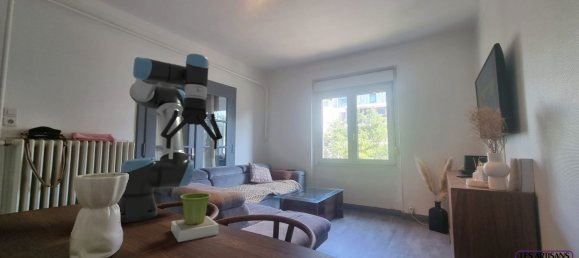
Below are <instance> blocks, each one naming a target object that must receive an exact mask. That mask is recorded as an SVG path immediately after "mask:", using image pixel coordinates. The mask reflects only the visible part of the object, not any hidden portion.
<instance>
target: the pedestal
mask: <svg viewBox="0 0 579 258" xmlns="http://www.w3.org/2000/svg"><path fill="white" fill-rule="evenodd" d="M219 227H220V226H219V223H218V222H216V221H215V220H214V219H213V218H211V217H210V216H208V215H205V219H204V222H202V223H200V224H196V223H195V224H193V225H189V224H185V222H184V218H183V219H177V220H172V221H171V227H170V228H171V229H170V230H171V233H172V234H173V236H174V237H175V239H176V241H177V243H180V242H185V241H186V242H187V241H190V240H197V239H200V238H201V239H202V238H205V237H211V236H215V235H219Z"/></svg>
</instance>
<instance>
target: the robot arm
mask: <svg viewBox="0 0 579 258" xmlns="http://www.w3.org/2000/svg"><path fill="white" fill-rule="evenodd" d="M209 69H210V66H209V58H208V57H206V56H205V55H203V54H199V53H188V54H187V55H186V61H185V66H184V65H180V64H179V65H178V64H175V63H170V62H166V61H160V60H155V59H151V58H148V57H140V56H137V57H135V58H134V60H133V70H132V75H133V78H134V79H135V81H134V83H133V84H131V86H130V88H129V96H130V97H131V99H132V100H133V101H134V102H135V103H136V104H138V105H139V106H142V107H144V108H148V109H153V110H155V109H156V110H157V113H158V115H160V116H161V129H162V130H161V133H160V136H161V137H162V148H163V149H162V151H163V152H162V153H163V154H162V155H161V156H160V157H159V160H157V158H156V157H155V156H151V157H141V158H139V157H138V158H132V159H128V160H125V161H123V162H122V164H121V169H120V172H119V174H120V173H128V174H129V180H128V183H127V187H126V190H125V192H124V194H123V196H122V198H121V200H120V201H119V202H118V201H117V202H118V205H119V207H120V212H121V224H122V223H124V224H125V223H136V222H143V221H147V220H150V219H154V218H155V217H157V216H158V206H157V203H156V199H155V196H154V194H155V193H154V192H155V190H156V189H158V190H159V189H168V188H169V189H171V188H181V187H188V186H189V185H190V184H191V182H192V180H193V176H194V171H195V170H194V169H195V163H194V160H192V159H189V155H188V154H187V152H185V148H184V138H183V137H184V136H183V128H184V127H185V125H196V126H199V125H200V126H201V128H203V129H204V131H205V132H206V133H207V135H208V136H209V137H210V138H211V140H209V152H208V153H209V154H208V155H209V156H208V158H209V159H211V160H212V159H214V157H215V156H214V155H215V152H214V151H215V150H217V148H218V147H217V146H218V140H219V141H220V140H221V139H223V135H222V132H221V131H220V128H219V126H218V123H217V122H216V114H215V113H207V100H206V99H207V96H208V79H209V78H208V77H209ZM159 83H162V84H170V85H176V86H180V87H182V88H184V90H182V89H178V88H176V87H175V88H174V87H173V88H172V87H165V86H160V85H158V84H159ZM182 118H183V120H182ZM206 119H207V120H209V122H210V125H211V127H212V129H213V130H212V129H211V128H210V127H209V125H208V123H207V122H206Z"/></svg>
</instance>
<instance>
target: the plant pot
mask: <svg viewBox="0 0 579 258" xmlns="http://www.w3.org/2000/svg"><path fill="white" fill-rule="evenodd" d="M210 198H211V194H210V193H208V192H207V193H206V192H193V193H192V192H191V193H185V194H182V195H180V199H181V203H182V209H183V219H184V222H185V224H189V225H193V224H195V223H196V224H200V223H202V222H204V219H205V216H206V212H207V209H208V203H209V201H210V200H209V199H210Z"/></svg>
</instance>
